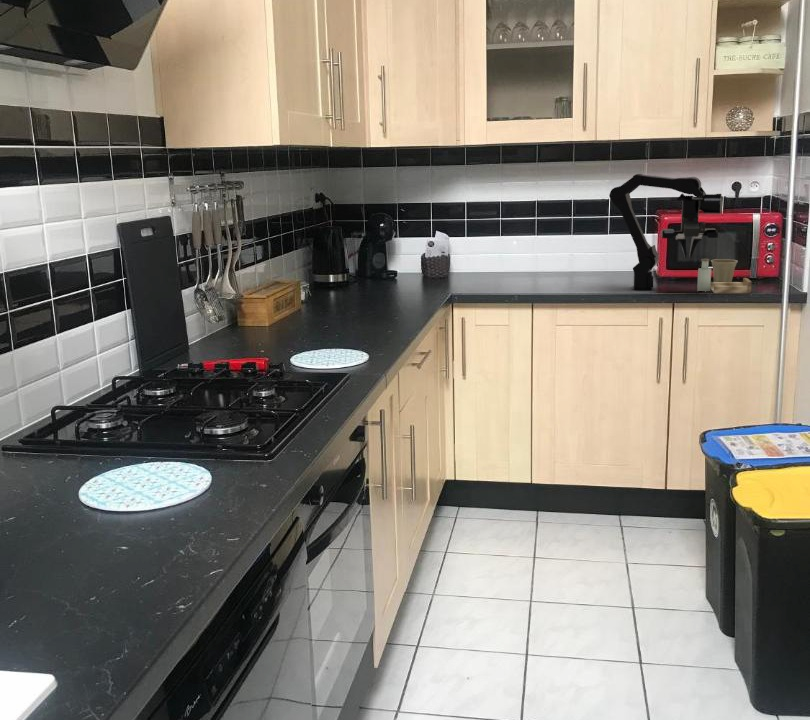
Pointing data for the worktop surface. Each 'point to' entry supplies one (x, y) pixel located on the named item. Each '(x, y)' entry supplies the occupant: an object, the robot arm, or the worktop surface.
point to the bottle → (704, 276)
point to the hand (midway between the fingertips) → (687, 257)
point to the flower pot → (723, 269)
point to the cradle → (732, 287)
